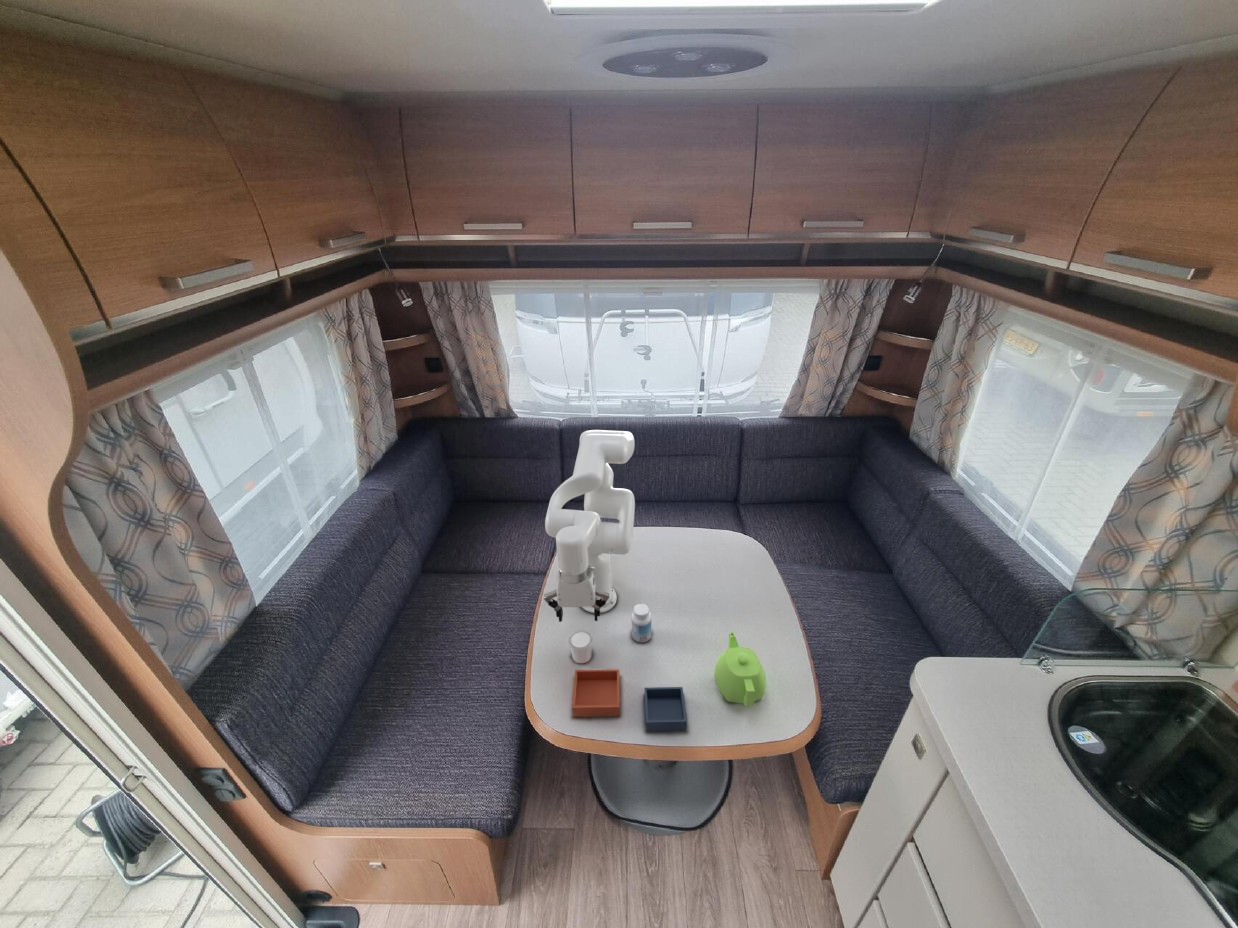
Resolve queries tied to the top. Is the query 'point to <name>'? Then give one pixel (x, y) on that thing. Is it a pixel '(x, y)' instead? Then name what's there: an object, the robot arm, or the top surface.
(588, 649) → the shot glass
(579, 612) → the top surface
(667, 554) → the top surface
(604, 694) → the orange brown square tray
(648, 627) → the pill bottle
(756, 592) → the top surface
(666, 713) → the bin
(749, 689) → the teapot
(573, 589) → the robot arm
